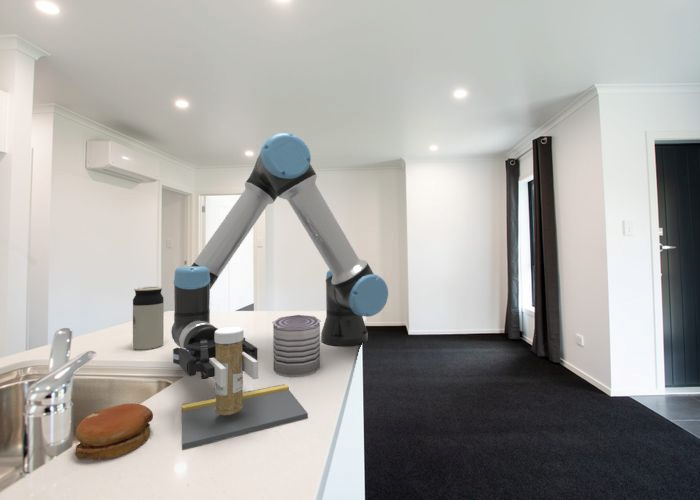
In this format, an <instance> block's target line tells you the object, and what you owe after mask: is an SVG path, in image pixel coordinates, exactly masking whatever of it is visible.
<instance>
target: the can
mask: <svg viewBox="0 0 700 500" xmlns="http://www.w3.org/2000/svg"><path fill="white" fill-rule="evenodd" d="M321 322H322V320H321V319H319V318H317V317H316V316H314V315H304V314H303V315H302V314H296V315H287V316H282V317H279V318H277V319H275V320H274V321H272V322H271V323H272V325H273V326H272V328H273V329H272V330H273V337H272V338H273V344H272V345H273V371H274V372H275V374H276V375H278V376H282V377H285V378H296V377H297V378H299V377H307V376H309V375H313V374H316V373H317V372H318V371H319V369H320V368H321V332H320V331H321Z"/></svg>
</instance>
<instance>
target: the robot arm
mask: <svg viewBox="0 0 700 500" xmlns="http://www.w3.org/2000/svg"><path fill="white" fill-rule="evenodd" d="M311 159H312V158H311V152H310V149H309V147H308V145H307V144H306V142H305V141H304V140H303V139H301V138H300V137H299V136H298V135H295V134H293V133H289V132H279V133H276V134H273V135H271V136H270V137H269V138H268V139H267V140H266V141H265V142H264V143H263V145H262V146H261V147H260V153H259V155H258V157H257V159H256V161H255V164H254V167H253V169H252V171H251V173H250V175H249V177H248V178H247V180H246V181H245V182H244V190H243V192H242V193H241V195H240V196H239V197H238V198H237V200H236V202H235V203H234V205H233V206H232V207H231V209H230V211H229V212H228V213H227V214H226V216H225V218H224V219H223V221H222V222H221V223H220V225H219V226H218V227H217V228H216V230H215V231H214V233H213V234H212V236H211V237H210V239H209V240H208V242H207V243H206V244H205V246H204V247H203V249H202V250H201V252H200V253H199V254H198V256H197V257H196V259H195V260H194V261H193V263H192V265H191V266H178V267H176V269H175V270H174V279H173V286H174V288H173V289H174V291H173V292H174V312H173V313H174V314H173V321H174V322H173V324H172V326H171V331H170V332H171V338H172V340H173V341H174V343H175V345H177V347H175V348H173V349H172V362H173V364H176V365H179V366H180V368H181V369H182V370H183V371H184V372H185V374H186V375H187V376H188V377H194V376H196V375H197V373H200V379H201V380H207V379H210V378H211V379H212V380H213V381H214V382H216V383H217V384H218V385H219V386H220V387H225V386H226V368H225V367H224V366H223V365H222V364H221V363H220V362H219V361H217V360H216V345H215V339H214V338H215V331H216V330H218V329H219V328H217V327H216V326H214V325H213V324H212V323H210V320H211V319H210V316H211V315H210V314H211V313H210V311H211V310H210V309H211V308H210V304H211V303H210V302H211V301H210V298H211V296H210V295H211V294H210V293H211V291H210V290H211V289H212V288H213V286H214V285H215V283H216V282H217V280H218V278H219V277H220V275H221V274H222V273H223V271H224V270H225V268H226V267H227V265H228V264H229V262H230V261H231V259H232V258H233V256H234V255H235V253H236V252H237V251H238V249H239V247H240V246H241V244H242V243H243V241H245V239H246V238H247V236H248V234H249V233H250V232H251V231H252V229H253V227H254V225H255V224H256V223H257V221H258V220H259V218H260V217H261V215H262V214H263V213H264V211H265V209H266V208H267V206H268V205H271V204H274V202H275V201H276V200H277V198H279V199H280V198H281V199H283V200H286V201H287V202H288V203H289V205H290V207H291V208H292V210H293V211H294V213H295V215H296V217H297V218H298V220H299V222H300V223H301V224H302V226H303V228H304V230H305V231H306V233H307V235H308V236H309V238H310V239H311V242H312V243H313V245H314V246H315V248H316V250H317V251H318V253H319V255H320V256H321V257H322V259H323V261H324V262H325V264H326V266H327V267H328V269H329V270H327V271H326V276H325V277H326V278H325V289H326V291H325V294H326V295H325V297H326V303H325V304H326V306H325V308H326V317H325V320H324V323H323V327H322V329H321V332H320V342H322V343H324V344H326V345H330V346H331V345H332V346H340V347H342V346H346V347H347V346H356V345H361V344H364V343H366V342H368V340H369V337H368V335H369V333H368V330H367V327H366V323H365V321H364V318H363V317H366V318H369V317H373V316H376V315H377V314H379V313H380V312H381V311H382V310H383V309H384V307H386V304H387V301H388V299H389V298H388V297H389V287H388V285H387V283H386V281H385V280H384V279H383V278H382V277H381V276H379V275H378V274H375V273H374V272H373V270H372V268H371V266H370V265H369V263H368V261H367V260H364V259H361V258H359V257H358V254H357V253H356V251H355V250H354V248H353V246H352V245H351V243H350V241H349V240H348V238H347V236H346V234H345V232H344V231H343V229H342V228H341V226H340V223H339V222H338V221H337V219H336V217H335V216H334V214H333V212H332V210H331V209H330V206H328V204H327V202H326V200H325V199H324V197H323V194H321V191H320V190H319V188H318V186H317V184H316V181H317V177H318V175H317V173H316V171H315V170H314V168H313V166H312V164H311ZM242 341H243V342H242V360H243V373H245V374H246V375H248V376H249V377H250V378H251V379H252V380H256V379H259V361H258V347H257V346H255V345H253V344H252V343H250V342H249V341H247V340H246V337H244V338H243V340H242Z"/></svg>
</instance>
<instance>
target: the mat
mask: <svg viewBox="0 0 700 500" xmlns="http://www.w3.org/2000/svg"><path fill="white" fill-rule="evenodd" d="M215 407H216V397H213V398H208V399H203V400H197V401H192V402H187V403H182V404H181V428H182V429H181V431H182V432H181V433H182V434H181V436H182V438H181V439H182V441H181V443H182V444H181V445H182V450H186V449H187V450H188V449H191V448H193V447H194V448H195V447H199V446H202V445H206V444H207V445H208V444H211V443H215V442H218V441H223V440H226V439H230V438H233V437H239V436H241V435H246V434H250V433H253V432H258V431H261V430H267V429H270V428H272V427H276V426H282V425H284V424H285V425H286V424H289V423H294V422H297V421H301V420H305V419H309V418H308V417H309V416H308V415H309V412H308V411H306V410H305V408H304V407H303V405H302V404H301V403H300V402H299V400H298V399H297V398H296V397H295V396H294V394H293V393H292V392H291V391H290V386H289V385H288V384H287V383H286V384H285V383H283V384H279V385H273V386H268V387H262V388H258V389H253V390H247V391H243V408H242V410H240V411H239V412H237V413H235V414H231V415H220V414H217V413H216V412H215Z"/></svg>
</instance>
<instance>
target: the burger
mask: <svg viewBox="0 0 700 500" xmlns="http://www.w3.org/2000/svg"><path fill="white" fill-rule="evenodd" d="M153 419H154V413H153V411H152V410H151V409H150V408H149V407H148V406H146V405H144V404H141V403H122V404H118V405H114V406H112V407H108V408H104V409H100V410H96V411H93V412H92V413H90V414H89V415H87V416H85V417H84V418H83V419H82V420H81V421H80V422H79V424H78V425H77V426H76V429H75V437H76V439H77V441H79V443H80V444H79V443H78V444H77V445H76V447H75V453H74V454H75V457H77V458H78V459H84V460H85V459H91V460H102V459H103V460H104V459H113V458H117V457H120V456H123V455H125V454H127V453H130V452H133V451H134V450H135V449H137V448H139V447H140V446H142V445H144V443H146V442H147V440H148V439H149V438H150V436H151V423H150V422H152V420H153Z"/></svg>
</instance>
